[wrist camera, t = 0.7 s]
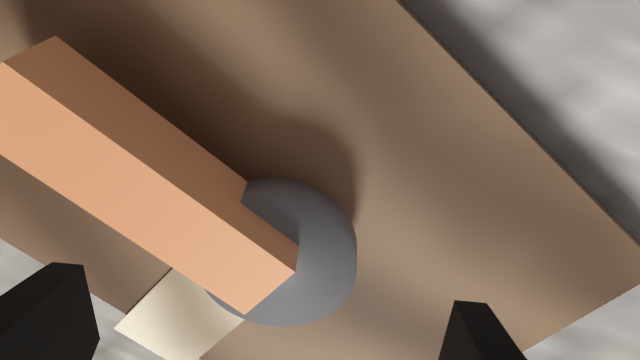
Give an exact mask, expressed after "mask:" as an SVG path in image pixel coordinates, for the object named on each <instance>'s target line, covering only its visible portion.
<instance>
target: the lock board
mask: <svg viewBox="0 0 640 360" xmlns="http://www.w3.org/2000/svg"><path fill="white" fill-rule="evenodd" d="M55 35H56V36H57V37H58V38H59V39H61V40H62V41H63V42H65V43H66V44H67V45H69V46H70V47H71V48H73V49H74V50H75V51H77V52H78V53H79V54H81V55H82V56H83V57H84V58H86V59H87V60H88V61H90V62H91V63H92V64H94V65H95V66H96V67H98V68H99V69H100V70H102V71H103V72H104V73H105V74H107V75H108V76H109V77H111V78H112V79H113V80H115V81H116V82H117V83H119V84H120V85H121V86H123V87H124V88H125V89H126V90H128V91H129V92H130V93H132V94H133V95H134V96H136V97H137V98H138V99H140V100H141V101H142V102H144V103H145V104H146V105H147V106H149V107H150V108H151V109H153V110H154V111H155V112H157V113H158V114H159V115H161V116H162V117H163V118H165V119H166V120H167V121H169V122H170V123H171V124H172V125H174V126H175V127H176V128H178V129H179V130H180V131H182V132H183V133H184V134H186V135H187V136H188V137H190V138H191V139H192V140H193V141H195V142H196V143H197V144H199V145H200V146H201V147H203V148H204V149H205V150H207V151H208V152H209V153H211V154H212V155H213V156H214V157H216V158H217V159H218V160H220V161H221V162H222V163H224V164H225V165H226V166H228V167H229V168H230V169H232V170H233V171H234V172H235V173H237V174H238V175H239V176H241V177H242V178H243V179H245V180H246V181H247V182H248V181H252V180H257V179H264V178H284V179H290V180H295V181H299V182H303V183H306V184H308V185H311V186H313V187H315V188H317V189H319V190H321V191H323V192H324V193H326V194H327V195H328V196H330V197H331V198H333V199H334V200H335V201H336V202H337V203H338V204H339V205H340V206H341V207H342V209H343V210H344V211H345V212H346V214H347V215H348V217H349V218H350V220H351V223H352V225H353V227H354V230H355V234H356V241H357V276H356V280H355V284H354V287H353V289H352V291H351V293H350V295H349V296H348V298H347V299H346V300H345V302H344V303H343V304H342V305H341V306H340V307H339V308H338V309H336V310H335V311H334V312H332V313H331V314H329V315H328V316H326V317H324V318H322V319H320V320H317V321H314V322H312V323H308V324H304V325H298V326H289V327H277V326H267V325H261V324H257V323H253V322H250V321H247V320H245V319H242V318H240V317H238V316H236V315H234V314H232V313H230V312H229V311H227V310H225V309H224V308H223V307H221V306H220V305H219V304H217V303H216V302H215V301H214V300H213V299H212V298H211V297H210V296H209V295H208V293H207V292H206V291H205V289H204V288H203V287H201V286H200V285H198V284H196V283H195V282H193V281H192V280H190V279H189V278H187V277H186V276H184V275H183V274H181V273H180V272H178V271H177V270H175V269H174V268H172V267H171V266H169V265H168V264H166V263H165V262H163V261H162V260H160V259H159V258H157V257H155V256H154V255H152V254H151V253H149V252H148V251H146V250H145V249H143V248H142V247H140V246H139V245H137V244H136V243H134V242H133V241H131V240H130V239H128V238H127V237H125V236H124V235H122V234H121V233H119V232H118V231H116V230H114V229H113V228H111V227H110V226H108V225H107V224H105V223H104V222H102V221H101V220H99V219H98V218H96V217H95V216H93V215H92V214H90V213H89V212H87V211H86V210H84V209H83V208H81V207H80V206H78V205H77V204H75V203H73V202H72V201H70V200H69V199H67V198H66V197H64V196H63V195H61V194H60V193H58V192H57V191H55V190H54V189H52V188H51V187H49V186H48V185H46V184H45V183H43V182H42V181H40V180H39V179H37V178H36V177H34V176H32V175H31V174H29V173H28V172H26V171H25V170H23V169H22V168H20V167H19V166H17V165H16V164H14V163H13V162H11V161H10V160H8V159H7V158H5V157H4V156H2V155H1V154H0V238H1V239H3V240H4V241H6V242H8V243H9V244H11V245H13V246H14V247H16V248H18V249H19V250H21V251H22V252H24V253H26V254H27V255H29V256H31V257H32V258H34V259H36V260H37V261H39V262H41V263H42V264H44V265H46V266H47V265H48V264H50V263H52V262H59V263H69V264H80V265H83V266H84V271H85V275H86V280H87V284H88V288H89V292H90V293H92V294H94V295H95V296H97V297H99V298H100V299H102V300H103V301H105V302H107V303H108V304H110V305H112V306H113V307H115V308H117V309H118V310H120V311H122V312H123V313H125V314H127V315H126V316H125V317H124V318H123V319H122V320H121V321H120V322H119V323H118V324H117V325H116V326H115V327H114V329H115V330H117V331H119V332H120V333H122V334H124V335H125V336H127V337H129V338H130V339H132V340H134V341H136V342H137V343H139V344H141V345H142V346H144V347H146V348H147V349H149V350H151V351H153V352H154V353H156V354H158V355H159V356H161V357H163V358H164V359H166V360H197V359H198V358H199V359H201V360H438V358H439V354H440V351H441V347H442V344H443V340H444V336H445V333H446V329H447V325H448V322H449V318H450V314H451V311H452V307H453V304H454V300H459V301H470V302H480V303H487V304H488V305H489V307H490V308H491V309H492V311H493V312H494V314H495V315H496V316H497V318H498V319H499V321H500V322H501V324H502V325H503V326H504V328H505V329H506V331H507V332H508V334H509V335H510V336H511V338H512V339H513V341H514V342H515V344H516V345H517V346H518V348H519V349H520V351H521V352H523V351H525V350H527V349H528V348H530V347H532V346H533V345H535V344H537V343H539V342H540V341H542V340H544V339H546V338H547V337H549V336H551V335H552V334H554V333H556V332H558V331H559V330H561V329H563V328H565V327H566V326H568V325H570V324H571V323H573V322H575V321H577V320H578V319H580V318H582V317H584V316H585V315H587V314H589V313H590V312H592V311H594V310H596V309H597V308H599V307H601V306H603V305H604V304H606V303H608V302H609V301H611V300H613V299H615V298H616V297H618V296H620V295H622V294H623V293H625V292H627V291H629V290H630V289H632V288H634V287H635V286H637V285H639V284H640V244H639V243H638V242H637V241H636V240H635V239H634V238H633V237H632V236H631V235H630V234H629V233H628V232H627V231H626V230H625V229H624V228H623V227H622V226H621V225H620V224H619V223H618V222H617V221H616V219H615V218H614V217H613V216H612V215H611V214H610V213H609V212H608V211H607V210H606V209H605V208H604V207H603V206H602V205H601V204H600V203H599V202H598V201H597V200H596V199H595V198H594V197H593V196H592V195H591V194H590V193H589V192H588V191H587V190H586V189H585V188H584V187H583V186H582V185H581V184H580V183H579V182H578V181H577V180H576V179H575V178H574V177H573V176H572V175H571V174H570V173H569V172H568V171H567V170H566V169H565V168H564V167H563V166H562V165H561V164H560V163H559V162H558V161H557V160H556V159H555V157H554V156H553V155H552V154H551V153H550V152H549V151H548V150H547V149H546V148H545V147H544V146H543V145H542V144H541V143H540V142H539V141H538V140H537V139H536V138H535V137H534V136H533V135H532V134H531V133H530V132H529V131H528V130H527V129H526V128H525V127H524V126H523V125H522V124H521V123H520V122H519V121H518V120H517V119H516V118H515V117H514V116H513V115H512V114H511V113H510V112H509V111H508V110H507V109H506V108H505V107H504V106H503V105H502V104H501V103H500V102H499V101H498V100H497V99H496V98H495V96H494V95H493V94H492V93H491V92H490V91H489V90H488V89H487V88H486V87H485V86H484V85H483V84H482V83H481V82H480V81H479V80H478V79H477V78H476V77H475V76H474V75H473V74H472V73H471V72H470V71H469V70H468V69H467V68H466V67H465V66H464V65H463V64H462V63H461V62H460V61H459V60H458V59H457V58H456V57H455V56H454V55H453V54H452V53H451V52H450V51H449V50H448V49H447V48H446V47H445V46H444V45H443V44H442V43H441V42H440V41H439V40H438V39H437V38H436V37H435V35H434V34H433V33H432V32H431V31H430V30H429V29H428V28H427V27H426V26H425V25H424V24H423V23H422V22H421V21H420V20H419V19H418V18H417V17H416V16H415V15H414V14H413V13H412V12H411V11H410V10H409V9H408V8H407V7H406V6H405V5H404V4H403V3H402V2H401V1H400V0H0V64H1V62H2V61H4V60H6V59H8V58H10V57H12V56H14V55H16V54H18V53H20V52H22V51H24V50H27V49H29V48H31V47H33V46H35V45H37V44H39V43H41V42H43V41H45V40H47V39H49V38H51V37H53V36H55Z"/></svg>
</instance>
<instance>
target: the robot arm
mask: <svg viewBox="0 0 640 360" xmlns="http://www.w3.org/2000/svg"><path fill="white" fill-rule="evenodd" d="M99 340H100V337H99V332H98V328H97V323H96V319H95V315H94V310H93V306H92V302H91V297H90V293H89V288H88V284H87V280H86V275H85V271H84V266H83V265H80V264H69V263H59V262H52V263H50V264H48V265H47V266H45V267H43V268H42V269H40V270H39V271H37V272H36V273H34V274H33V275H31V276H30V277H28V278H27V279H25V280H24V281H22V282H21V283H19V284H18V285H16V286H15V287H13V288H12V289H10V290H9V291H7V292H6V293H4V294H3V295H1V296H0V360H92V357H93V355H94V352H95V350H96V347H97V345H98V342H99ZM438 360H527V359H526V358H525V356H524V355H523V353H522V352H521V351H520V349H519V348H518V346H517V345H516V344H515V342H514V341H513V339H512V338H511V336H510V335H509V334H508V332H507V331H506V329H505V328H504V326H503V325H502V324H501V322H500V321H499V319H498V318H497V316H496V315H495V314H494V312H493V311H492V309H491V308H490V307H489V305H488V304H487V303H480V302H470V301H459V300H454V304H453V307H452V311H451V314H450V318H449V322H448V325H447V329H446V333H445V336H444V340H443V344H442V347H441V351H440V354H439V358H438Z"/></svg>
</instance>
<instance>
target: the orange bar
mask: <svg viewBox="0 0 640 360" xmlns="http://www.w3.org/2000/svg"><path fill="white" fill-rule="evenodd" d="M0 154H1V155H2V156H4V157H5V158H7V159H8V160H10V161H11V162H13V163H14V164H16V165H17V166H19V167H20V168H22V169H23V170H25V171H26V172H28V173H29V174H31V175H32V176H34V177H36V178H37V179H39V180H40V181H42V182H43V183H45V184H46V185H48V186H49V187H51V188H52V189H54V190H55V191H57V192H58V193H60V194H61V195H63V196H64V197H66V198H67V199H69V200H70V201H72V202H73V203H75V204H77V205H78V206H80V207H81V208H83V209H84V210H86V211H87V212H89V213H90V214H92V215H93V216H95V217H96V218H98V219H99V220H101V221H102V222H104V223H105V224H107V225H108V226H110V227H111V228H113V229H114V230H116V231H118V232H119V233H121V234H122V235H124V236H125V237H127V238H128V239H130V240H131V241H133V242H134V243H136V244H137V245H139V246H140V247H142V248H143V249H145V250H146V251H148V252H149V253H151V254H152V255H154V256H155V257H157V258H159V259H160V260H162V261H163V262H165V263H166V264H168V265H169V266H171V267H172V268H174V269H175V270H177V271H178V272H180V273H181V274H183V275H184V276H186V277H187V278H189V279H190V280H192V281H193V282H195V283H196V284H198V285H200V286H201V287H203V288H204V289H205V291H206V292H207V293H208V295H209V296H210V297H211V298H212V299H213V300H214V301H215V302H216V303H217V304H219V305H220V306H221V307H223V308H224V309H225V310H227V311H229V312H230V313H232V314H234V315H236V316H238V317H240V318H242V319H245V320H247V321H250V322H253V323H257V324H261V325H267V326H277V327H289V326H298V325H304V324H308V323H312V322H314V321H317V320H320V319H322V318H324V317H326V316H328V315H329V314H331V313H332V312H334V311H335V310H336V309H338V308H339V307H340V306H341V305H342V304H343V303H344V302H345V300H346V299H347V298H348V296H349V295H350V293H351V291H352V289H353V287H354V284H355V280H356V276H357V241H356V234H355V230H354V227H353V225H352V223H351V220H350V218H349V217H348V215H347V214H346V212H345V211H344V210H343V209H342V207H341V206H340V205H339V204H338V203H337V202H336V201H335V200H334V199H333V198H331V197H330V196H328V195H327V194H326V193H324V192H323V191H321V190H319V189H317V188H315V187H313V186H311V185H308V184H306V183H303V182H299V181H295V180H290V179H284V178H264V179H257V180H252V181H248V182H247V181H246V180H245V179H243V178H242V177H241V176H239V175H238V174H237V173H235V172H234V171H233V170H232V169H230V168H229V167H228V166H226V165H225V164H224V163H222V162H221V161H220V160H218V159H217V158H216V157H214V156H213V155H212V154H211V153H209V152H208V151H207V150H205V149H204V148H203V147H201V146H200V145H199V144H197V143H196V142H195V141H193V140H192V139H191V138H190V137H188V136H187V135H186V134H184V133H183V132H182V131H180V130H179V129H178V128H176V127H175V126H174V125H172V124H171V123H170V122H169V121H167V120H166V119H165V118H163V117H162V116H161V115H159V114H158V113H157V112H155V111H154V110H153V109H151V108H150V107H149V106H147V105H146V104H145V103H144V102H142V101H141V100H140V99H138V98H137V97H136V96H134V95H133V94H132V93H130V92H129V91H128V90H126V89H125V88H124V87H123V86H121V85H120V84H119V83H117V82H116V81H115V80H113V79H112V78H111V77H109V76H108V75H107V74H105V73H104V72H103V71H102V70H100V69H99V68H98V67H96V66H95V65H94V64H92V63H91V62H90V61H88V60H87V59H86V58H84V57H83V56H82V55H81V54H79V53H78V52H77V51H75V50H74V49H73V48H71V47H70V46H69V45H67V44H66V43H65V42H63V41H62V40H61V39H59V38H58V37H57V36H56V35H55V36H53V37H51V38H49V39H47V40H45V41H43V42H41V43H39V44H37V45H35V46H33V47H31V48H29V49H27V50H24V51H22V52H20V53H18V54H16V55H14V56H12V57H10V58H8V59H6V60H4V61H2V62H1V64H0Z"/></svg>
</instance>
